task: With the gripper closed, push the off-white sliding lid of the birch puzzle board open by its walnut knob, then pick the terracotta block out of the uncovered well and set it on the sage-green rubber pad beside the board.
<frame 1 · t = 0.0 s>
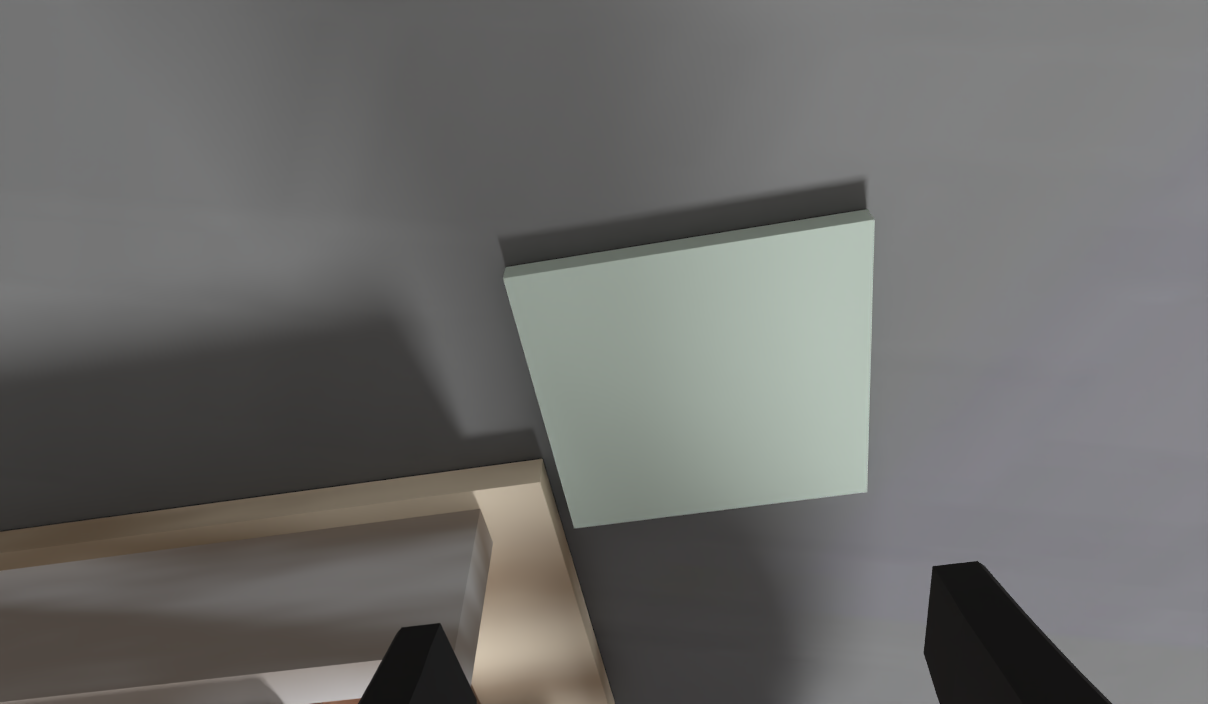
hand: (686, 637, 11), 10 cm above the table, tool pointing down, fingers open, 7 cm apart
puzzle board: (312, 670, 29), on the table
sage pad: (700, 382, 21), on the table
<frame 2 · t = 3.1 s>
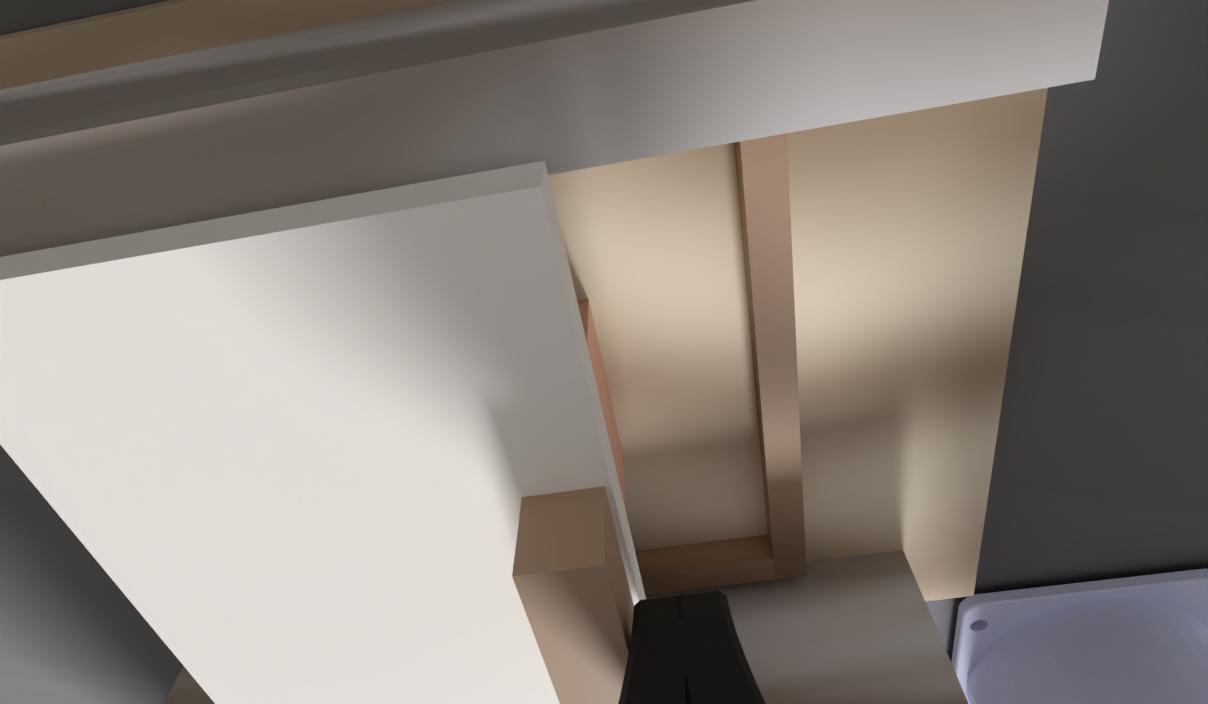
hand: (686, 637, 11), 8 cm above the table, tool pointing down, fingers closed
puzzle board: (514, 373, 18), on the table
sliding lid: (393, 642, 12), point 7 cm above the table, slide at 1.3 cm, touching gripper
terracotta block: (509, 399, 17), point 1 cm above the table, touching puzzle board
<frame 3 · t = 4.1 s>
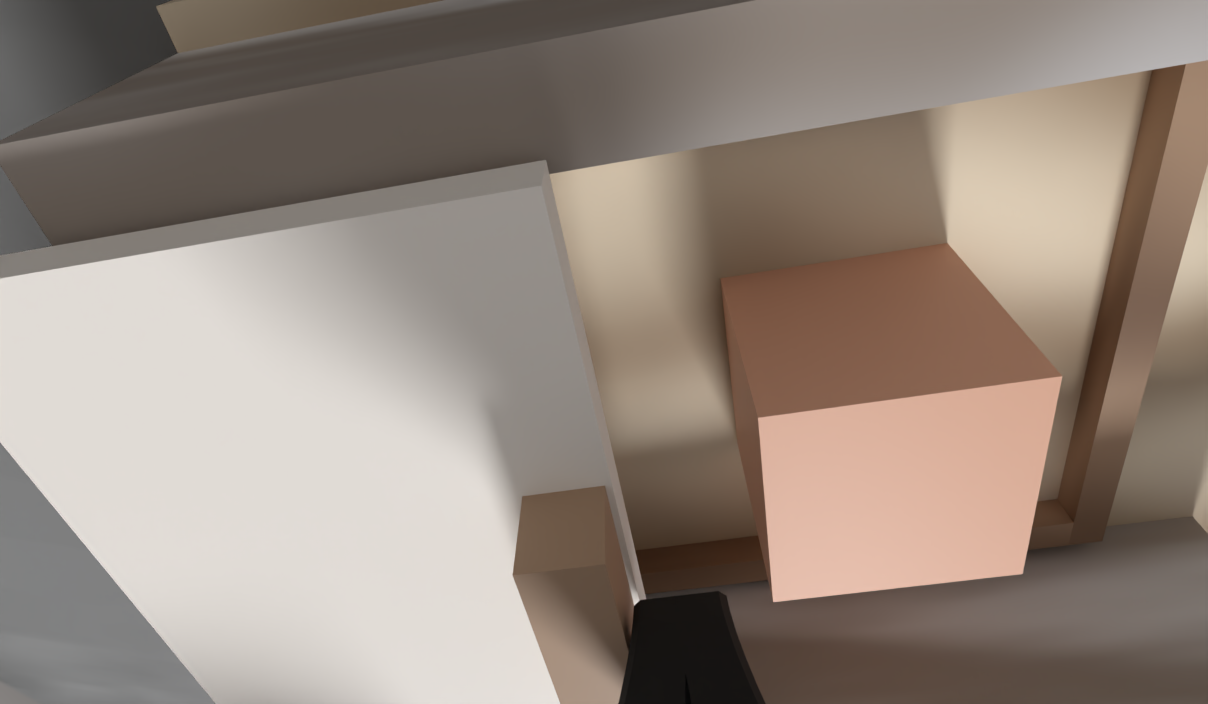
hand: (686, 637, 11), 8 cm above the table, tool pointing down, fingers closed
puzzle board: (821, 327, 17), on the table
sliding lid: (394, 641, 12), point 7 cm above the table, slide at 8.5 cm, touching gripper
terracotta block: (833, 352, 16), point 1 cm above the table, touching puzzle board
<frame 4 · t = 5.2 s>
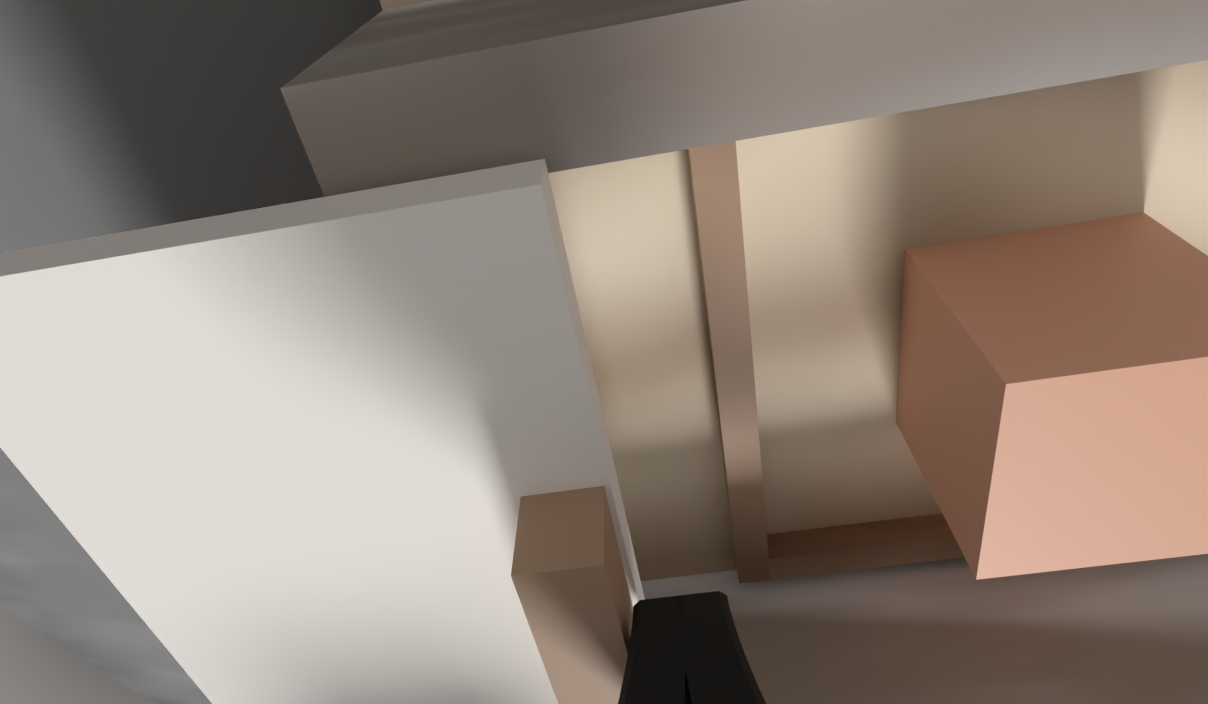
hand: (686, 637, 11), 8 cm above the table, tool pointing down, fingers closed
puzzle board: (988, 303, 17), on the table
sliding lid: (391, 641, 12), point 7 cm above the table, slide at 12.2 cm, touching gripper
terracotta block: (1008, 326, 16), point 1 cm above the table, touching puzzle board
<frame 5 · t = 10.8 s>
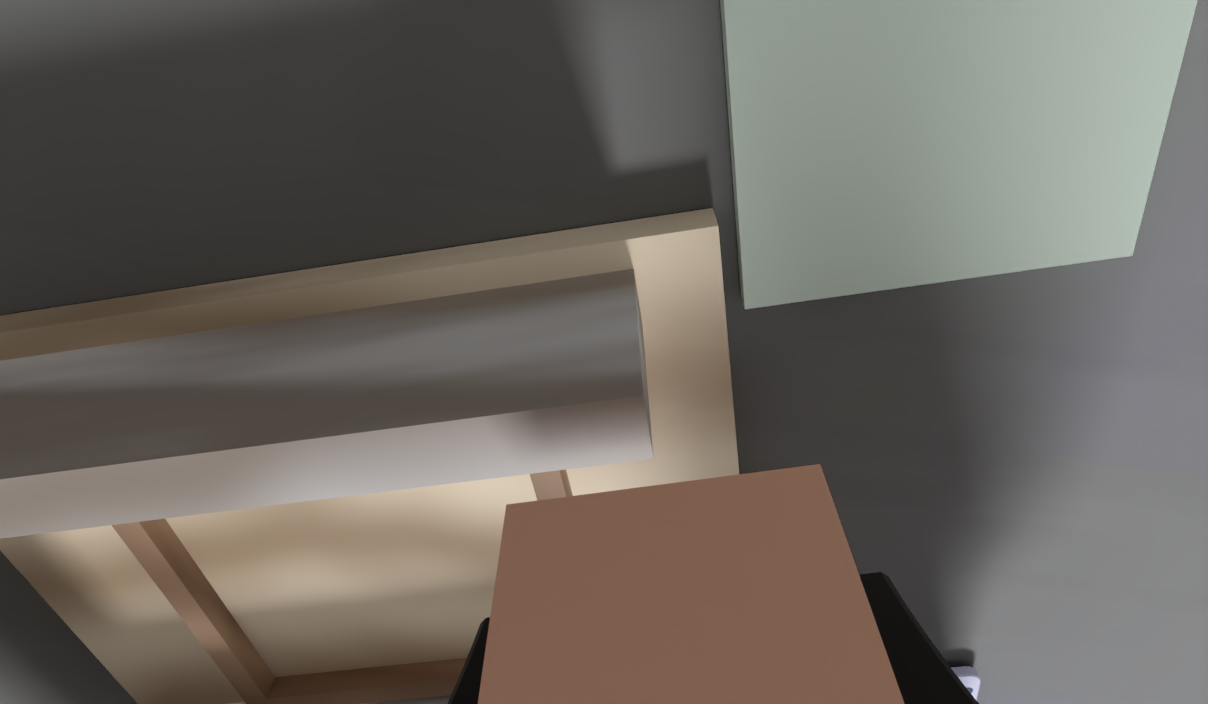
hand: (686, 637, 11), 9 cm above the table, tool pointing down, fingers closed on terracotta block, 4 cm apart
puzzle board: (383, 528, 23), on the table
terracotta block: (678, 586, 12), point 9 cm above the table, touching gripper
sage pad: (941, 84, 16), on the table
when the fingers open (3 cm above the table, at t = 13.0 s): terracotta block drops 1 cm, resting on sage pad.
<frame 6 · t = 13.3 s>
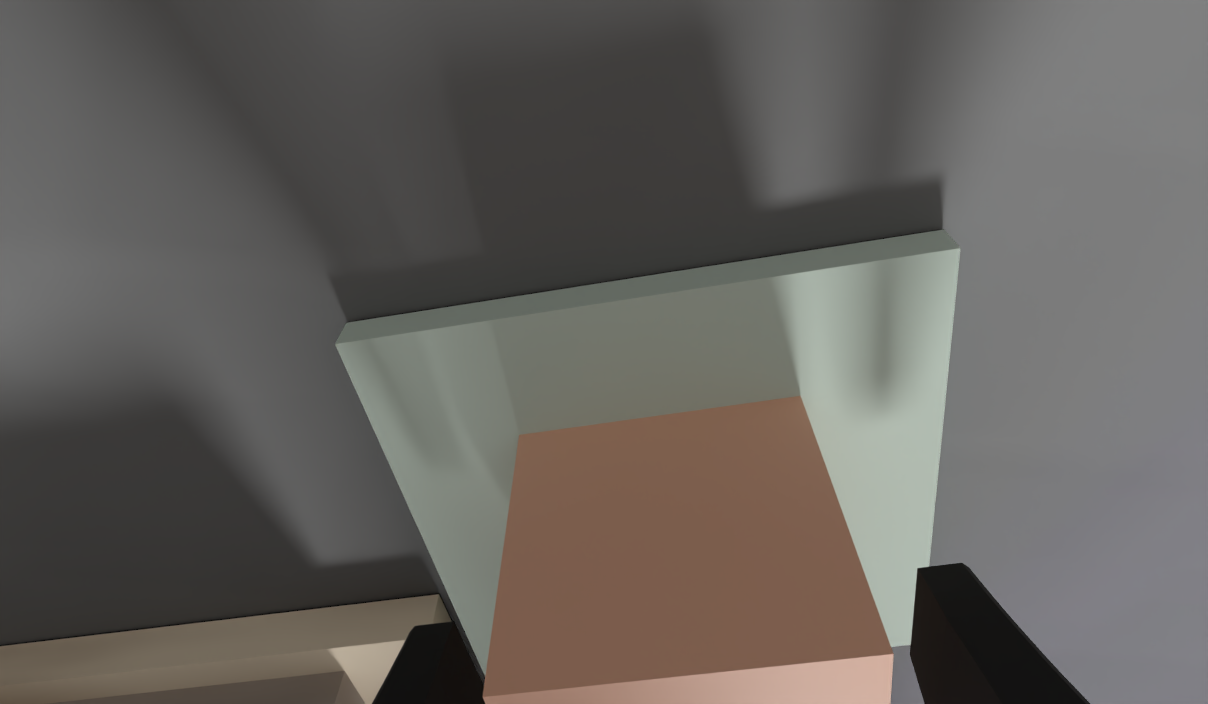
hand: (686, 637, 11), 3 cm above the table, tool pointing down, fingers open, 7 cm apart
terracotta block: (674, 514, 13), point 1 cm above the table, touching sage pad
sage pad: (671, 492, 14), on the table
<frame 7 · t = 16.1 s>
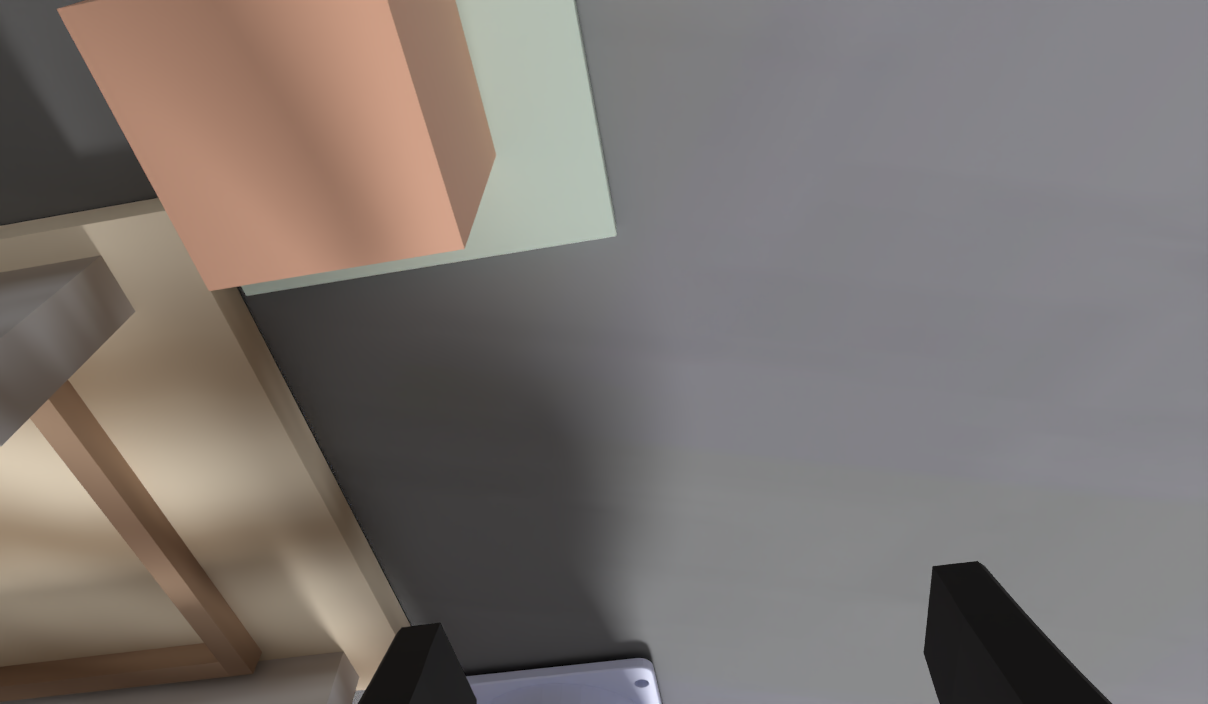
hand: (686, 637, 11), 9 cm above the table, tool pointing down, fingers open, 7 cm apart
terracotta block: (358, 66, 15), point 1 cm above the table, touching sage pad
sage pad: (366, 62, 16), on the table
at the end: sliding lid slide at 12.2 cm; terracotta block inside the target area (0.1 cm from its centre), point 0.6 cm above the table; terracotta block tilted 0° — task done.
